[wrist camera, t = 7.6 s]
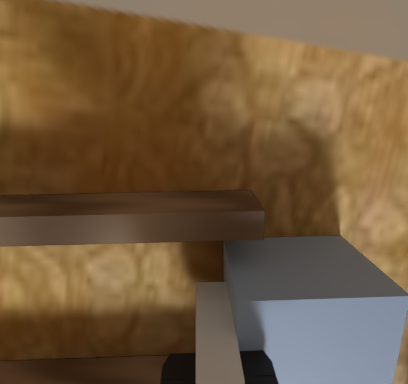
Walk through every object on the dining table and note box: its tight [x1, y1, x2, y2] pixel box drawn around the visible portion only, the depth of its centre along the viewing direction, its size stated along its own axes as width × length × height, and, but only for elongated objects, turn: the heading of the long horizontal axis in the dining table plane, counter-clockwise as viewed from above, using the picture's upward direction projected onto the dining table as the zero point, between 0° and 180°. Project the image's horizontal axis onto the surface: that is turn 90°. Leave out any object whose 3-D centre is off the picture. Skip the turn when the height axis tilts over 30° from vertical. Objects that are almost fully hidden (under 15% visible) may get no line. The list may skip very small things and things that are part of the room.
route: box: [0, 190, 265, 384], centre depth 14 cm, size 32×15×5 cm, turn 91°
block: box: [223, 235, 408, 384], centre depth 13 cm, size 6×6×5 cm
